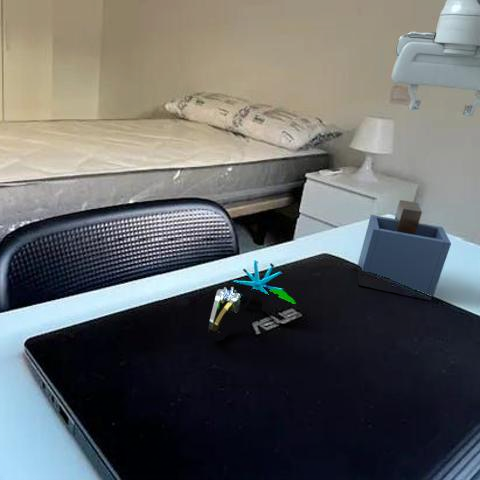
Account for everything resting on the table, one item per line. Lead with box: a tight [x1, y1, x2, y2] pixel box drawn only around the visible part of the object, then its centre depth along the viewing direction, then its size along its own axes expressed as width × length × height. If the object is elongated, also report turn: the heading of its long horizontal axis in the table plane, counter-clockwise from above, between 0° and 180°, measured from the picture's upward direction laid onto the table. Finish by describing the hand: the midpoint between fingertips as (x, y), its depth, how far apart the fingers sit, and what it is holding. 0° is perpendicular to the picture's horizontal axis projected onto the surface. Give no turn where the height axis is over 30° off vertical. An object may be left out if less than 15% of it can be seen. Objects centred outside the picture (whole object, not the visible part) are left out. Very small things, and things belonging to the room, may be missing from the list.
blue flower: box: [233, 259, 297, 304], centre depth 79 cm, size 12×7×8 cm
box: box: [357, 214, 452, 297], centre depth 88 cm, size 12×8×11 cm, turn 72°
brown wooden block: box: [394, 199, 423, 235], centre depth 90 cm, size 3×6×9 cm, turn 161°
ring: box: [208, 286, 242, 332], centre depth 68 cm, size 7×3×8 cm, turn 142°
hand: (440, 112), depth 96 cm, fingers open, 8 cm apart
